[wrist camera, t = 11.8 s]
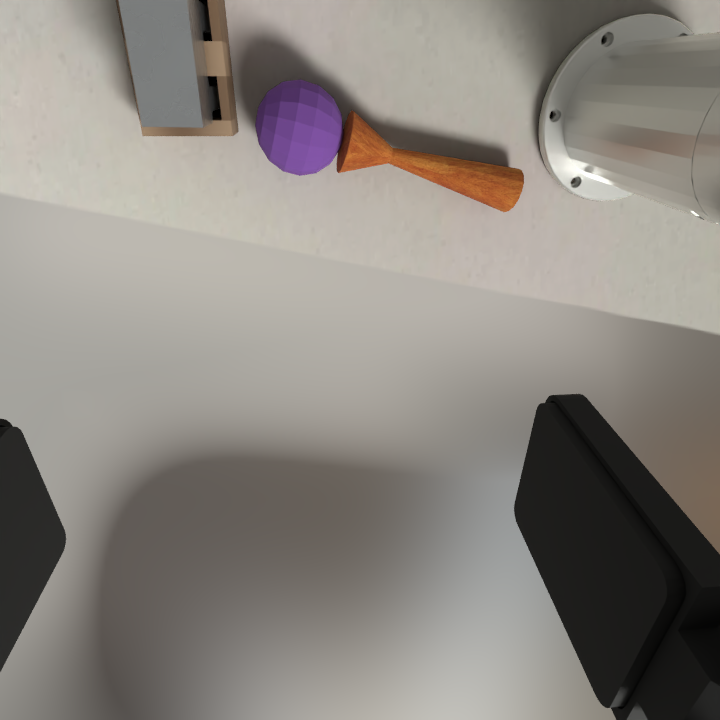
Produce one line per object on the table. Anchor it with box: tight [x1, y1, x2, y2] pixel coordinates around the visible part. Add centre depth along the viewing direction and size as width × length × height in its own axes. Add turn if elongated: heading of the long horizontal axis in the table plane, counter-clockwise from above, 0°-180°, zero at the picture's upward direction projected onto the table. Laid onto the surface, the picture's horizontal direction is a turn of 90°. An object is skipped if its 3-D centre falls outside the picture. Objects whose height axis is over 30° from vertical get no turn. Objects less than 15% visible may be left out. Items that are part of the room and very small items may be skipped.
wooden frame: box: [116, 0, 238, 136], centre depth 32 cm, size 6×9×3 cm, turn 0°
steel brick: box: [118, 0, 220, 128], centre depth 31 cm, size 4×7×7 cm, turn 179°
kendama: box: [255, 79, 524, 212], centre depth 36 cm, size 6×6×20 cm
